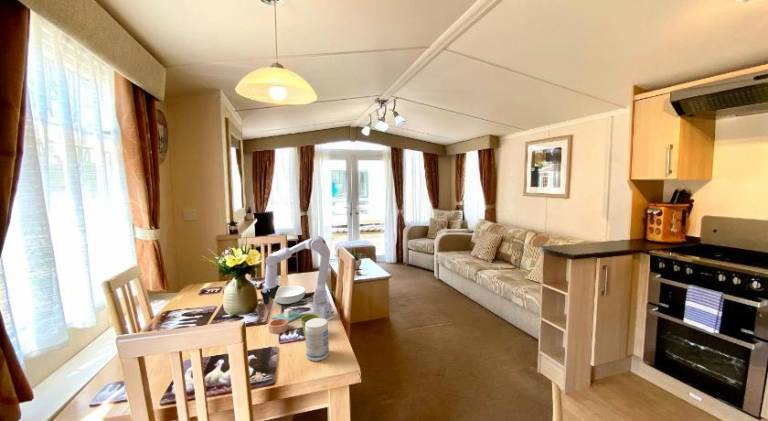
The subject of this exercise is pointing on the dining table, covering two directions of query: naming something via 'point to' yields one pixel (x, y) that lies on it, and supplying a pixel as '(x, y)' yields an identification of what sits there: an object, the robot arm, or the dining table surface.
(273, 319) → the mat
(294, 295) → the serving bowl
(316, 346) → the supplement tub
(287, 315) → the cover sheet
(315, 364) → the dining table surface
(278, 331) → the bowl
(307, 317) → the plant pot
